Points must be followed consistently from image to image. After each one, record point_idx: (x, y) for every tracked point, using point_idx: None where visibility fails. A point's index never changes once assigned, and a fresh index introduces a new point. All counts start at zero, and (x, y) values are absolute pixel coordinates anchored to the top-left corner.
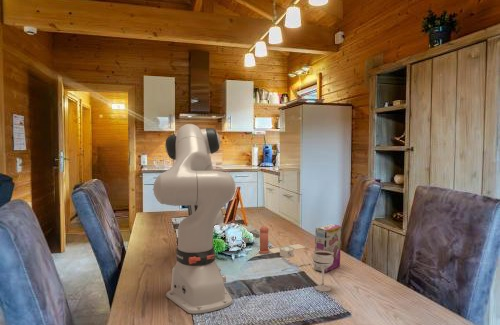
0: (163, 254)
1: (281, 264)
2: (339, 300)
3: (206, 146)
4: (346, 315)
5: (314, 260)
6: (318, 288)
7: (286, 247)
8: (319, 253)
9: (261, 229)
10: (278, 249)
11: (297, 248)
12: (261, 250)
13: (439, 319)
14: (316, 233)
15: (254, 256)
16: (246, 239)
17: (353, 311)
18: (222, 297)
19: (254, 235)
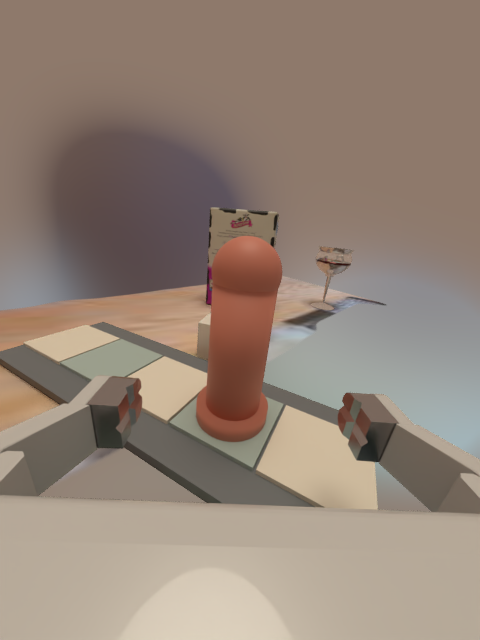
0: None
1: (287, 350)
2: (334, 299)
3: None
4: (355, 297)
5: (350, 262)
6: (331, 307)
7: (204, 321)
8: (327, 255)
9: (280, 263)
10: (146, 375)
11: (110, 336)
12: (259, 401)
13: (292, 278)
14: (276, 226)
15: (333, 424)
16: (386, 402)
17: (342, 295)
18: None
19: (31, 484)
